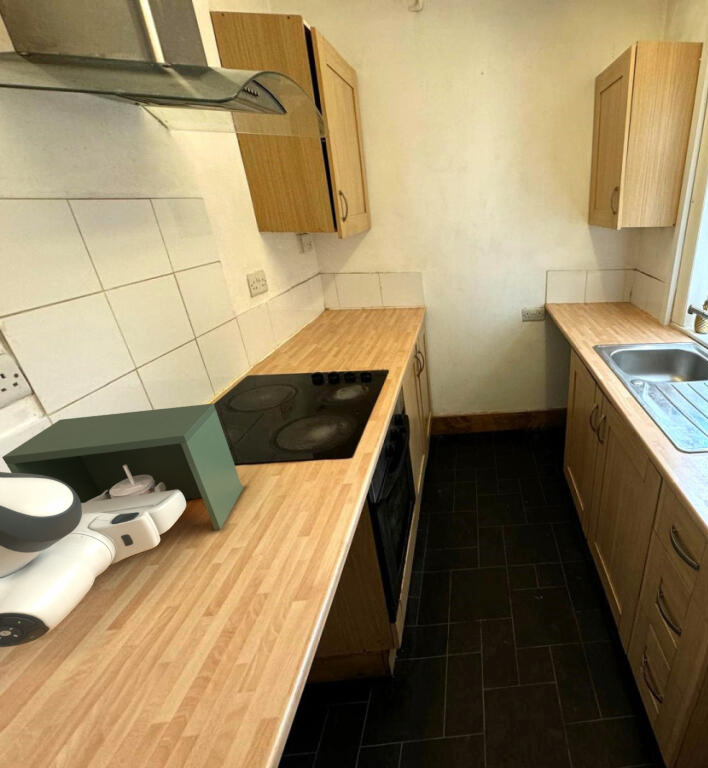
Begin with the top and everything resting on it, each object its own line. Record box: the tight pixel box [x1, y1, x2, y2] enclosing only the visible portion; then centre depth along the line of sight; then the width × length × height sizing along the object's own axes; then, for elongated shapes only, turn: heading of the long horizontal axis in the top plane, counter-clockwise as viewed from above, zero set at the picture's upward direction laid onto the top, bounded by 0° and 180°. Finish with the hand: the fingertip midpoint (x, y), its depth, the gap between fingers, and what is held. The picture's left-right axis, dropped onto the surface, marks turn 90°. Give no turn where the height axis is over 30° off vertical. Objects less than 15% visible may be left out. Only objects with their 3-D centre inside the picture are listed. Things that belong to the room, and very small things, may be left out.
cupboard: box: [1, 403, 244, 531], centre depth 80 cm, size 26×13×22 cm, turn 104°
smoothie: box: [109, 464, 155, 499], centre depth 78 cm, size 6×6×14 cm
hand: (137, 488), depth 79 cm, fingers closed on smoothie, 6 cm apart
